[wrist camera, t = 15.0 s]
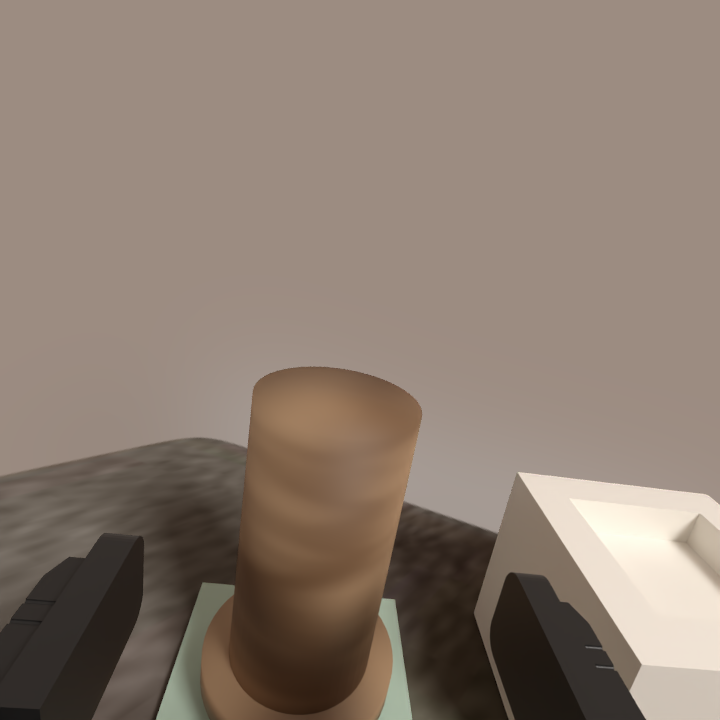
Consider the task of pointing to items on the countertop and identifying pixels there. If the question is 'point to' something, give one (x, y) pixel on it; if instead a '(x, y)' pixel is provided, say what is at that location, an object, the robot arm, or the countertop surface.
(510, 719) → the white socket block
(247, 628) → the flanged wooden peg
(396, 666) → the mat
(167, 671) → the countertop surface
